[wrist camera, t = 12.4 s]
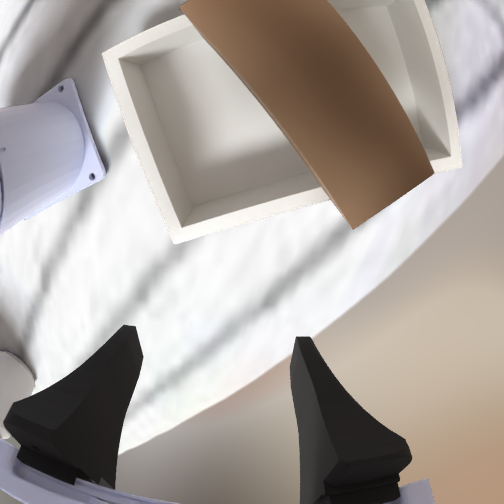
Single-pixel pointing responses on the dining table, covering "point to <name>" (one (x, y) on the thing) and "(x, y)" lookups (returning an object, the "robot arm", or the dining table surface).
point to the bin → (259, 117)
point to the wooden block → (320, 96)
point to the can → (12, 385)
